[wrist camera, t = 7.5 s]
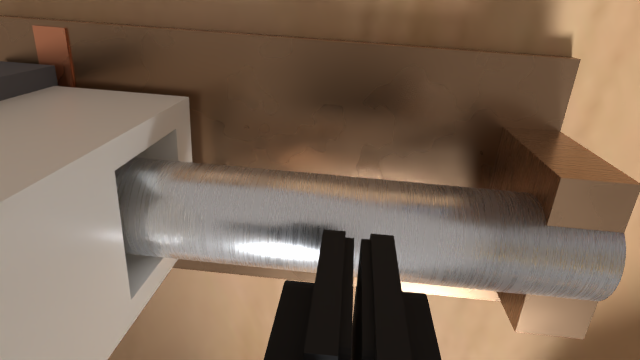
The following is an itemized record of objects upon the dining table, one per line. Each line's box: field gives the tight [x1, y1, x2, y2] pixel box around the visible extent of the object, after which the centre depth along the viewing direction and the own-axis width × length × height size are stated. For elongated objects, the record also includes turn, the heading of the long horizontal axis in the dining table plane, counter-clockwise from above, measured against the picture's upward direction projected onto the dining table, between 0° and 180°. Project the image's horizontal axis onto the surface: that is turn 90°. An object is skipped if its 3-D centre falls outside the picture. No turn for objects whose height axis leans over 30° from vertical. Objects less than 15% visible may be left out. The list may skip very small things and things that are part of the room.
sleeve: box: [0, 86, 192, 360], centre depth 12 cm, size 6×5×10 cm
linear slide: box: [0, 16, 640, 339], centre depth 15 cm, size 23×10×6 cm, turn 86°
